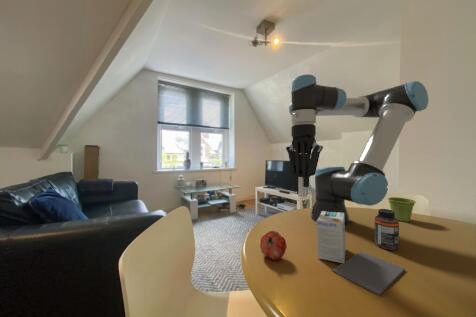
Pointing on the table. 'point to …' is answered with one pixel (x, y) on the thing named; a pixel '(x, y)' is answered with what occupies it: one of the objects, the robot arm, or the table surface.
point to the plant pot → (402, 208)
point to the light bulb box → (331, 236)
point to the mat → (369, 272)
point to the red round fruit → (273, 245)
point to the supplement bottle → (387, 230)
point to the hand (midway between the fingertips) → (302, 196)
